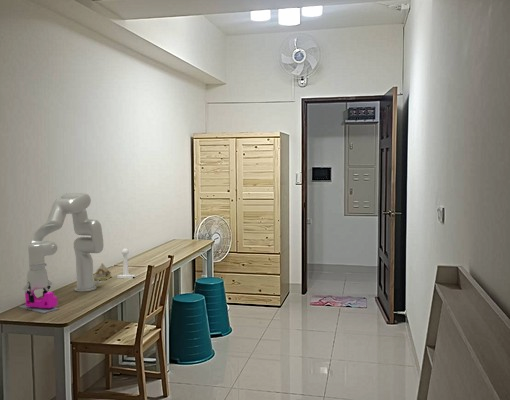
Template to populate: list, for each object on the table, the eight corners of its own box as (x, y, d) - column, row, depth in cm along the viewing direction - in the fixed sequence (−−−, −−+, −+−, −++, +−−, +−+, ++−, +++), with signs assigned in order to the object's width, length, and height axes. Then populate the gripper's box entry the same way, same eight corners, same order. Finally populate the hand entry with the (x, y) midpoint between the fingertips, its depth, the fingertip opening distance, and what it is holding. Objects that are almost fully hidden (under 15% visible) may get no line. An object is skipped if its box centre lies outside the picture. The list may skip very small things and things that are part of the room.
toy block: (57, 305, 287) (56, 291, 286) (49, 308, 281) (48, 294, 280) (34, 303, 292) (33, 289, 291) (25, 306, 286) (25, 292, 285)
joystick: (116, 279, 356) (115, 248, 354) (120, 277, 363) (119, 247, 362) (133, 279, 355) (132, 248, 353) (136, 277, 362) (136, 247, 361)
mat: (34, 303, 297) (34, 302, 297) (59, 309, 284) (59, 308, 284) (18, 307, 289) (18, 306, 289) (43, 313, 277) (43, 312, 277)
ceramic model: (96, 276, 366) (95, 262, 365) (113, 276, 367) (112, 261, 366) (91, 281, 352) (91, 265, 351) (109, 280, 353) (108, 265, 352)
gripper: (47, 263, 294) (49, 296, 296) (17, 269, 280) (19, 303, 282) (56, 265, 290) (57, 298, 291) (25, 270, 276) (27, 305, 277)
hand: (38, 300), depth 287 cm, fingers closed on toy block, 7 cm apart
